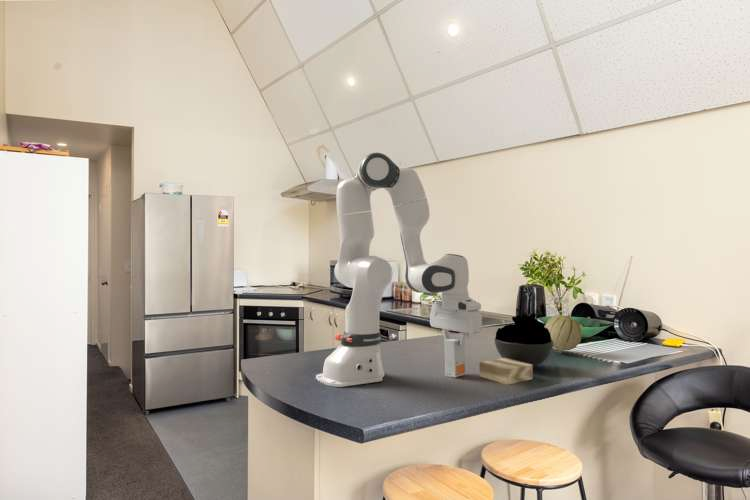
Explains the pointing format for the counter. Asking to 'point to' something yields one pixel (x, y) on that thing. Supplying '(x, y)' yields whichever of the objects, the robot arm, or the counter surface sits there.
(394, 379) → the counter surface
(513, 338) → the bowl of black rocks
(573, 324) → the cantaloupe
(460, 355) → the skincare box
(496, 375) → the maple block
